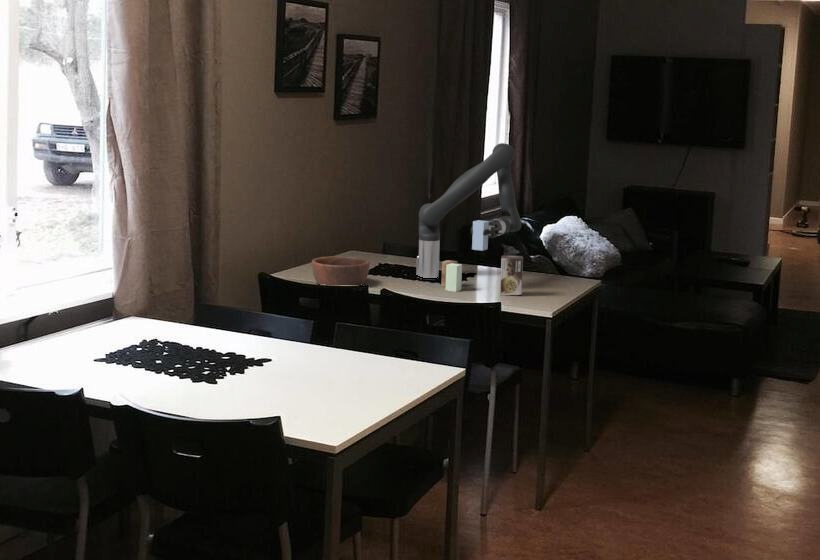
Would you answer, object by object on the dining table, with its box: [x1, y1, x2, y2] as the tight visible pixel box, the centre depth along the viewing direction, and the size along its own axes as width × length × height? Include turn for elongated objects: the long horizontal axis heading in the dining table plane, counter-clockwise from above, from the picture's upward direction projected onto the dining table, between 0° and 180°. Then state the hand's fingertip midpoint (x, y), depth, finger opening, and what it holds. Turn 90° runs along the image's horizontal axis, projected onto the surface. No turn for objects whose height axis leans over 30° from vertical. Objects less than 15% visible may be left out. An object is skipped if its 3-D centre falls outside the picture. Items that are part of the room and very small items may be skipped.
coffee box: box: [499, 255, 524, 295], centre depth 459 cm, size 9×6×16 cm
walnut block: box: [440, 259, 459, 288], centre depth 473 cm, size 5×5×11 cm
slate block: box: [471, 219, 489, 252], centre depth 466 cm, size 5×5×12 cm
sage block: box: [444, 263, 463, 293], centre depth 466 cm, size 5×5×11 cm
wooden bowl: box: [311, 255, 371, 286], centre depth 473 cm, size 25×25×10 cm
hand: (477, 232), depth 463 cm, fingers closed on slate block, 5 cm apart
